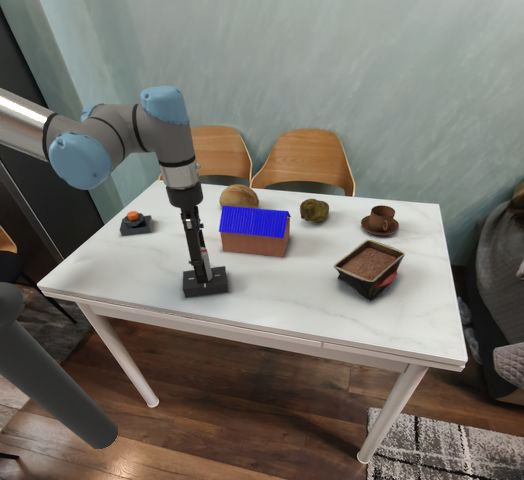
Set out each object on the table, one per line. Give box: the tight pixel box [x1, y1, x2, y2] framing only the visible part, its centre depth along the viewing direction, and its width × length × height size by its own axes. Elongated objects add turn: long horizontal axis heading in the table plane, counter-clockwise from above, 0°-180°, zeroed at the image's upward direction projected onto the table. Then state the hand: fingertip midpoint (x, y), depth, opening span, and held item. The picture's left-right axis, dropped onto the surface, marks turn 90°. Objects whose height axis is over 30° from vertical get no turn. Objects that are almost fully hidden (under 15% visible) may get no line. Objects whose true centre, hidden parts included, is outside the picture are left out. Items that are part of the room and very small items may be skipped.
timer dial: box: [201, 247, 212, 281], centre depth 81 cm, size 4×4×8 cm
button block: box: [119, 212, 154, 237], centre depth 106 cm, size 10×8×4 cm
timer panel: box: [182, 265, 230, 299], centre depth 85 cm, size 12×9×3 cm
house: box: [218, 206, 292, 258], centre depth 94 cm, size 12×20×12 cm, turn 76°
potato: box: [299, 198, 330, 223], centre depth 103 cm, size 8×13×8 cm, turn 118°
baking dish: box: [333, 239, 406, 302], centre depth 82 cm, size 14×18×10 cm
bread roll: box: [218, 183, 260, 209], centre depth 111 cm, size 10×15×8 cm, turn 81°
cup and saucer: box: [360, 204, 400, 236], centre depth 99 cm, size 12×12×6 cm
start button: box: [126, 210, 139, 221], centre depth 104 cm, size 4×4×2 cm
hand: (202, 266), depth 81 cm, fingers open, 13 cm apart
